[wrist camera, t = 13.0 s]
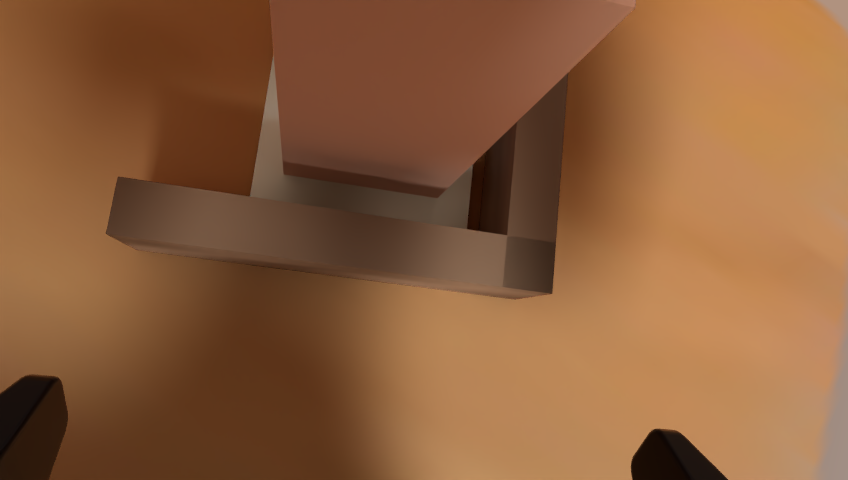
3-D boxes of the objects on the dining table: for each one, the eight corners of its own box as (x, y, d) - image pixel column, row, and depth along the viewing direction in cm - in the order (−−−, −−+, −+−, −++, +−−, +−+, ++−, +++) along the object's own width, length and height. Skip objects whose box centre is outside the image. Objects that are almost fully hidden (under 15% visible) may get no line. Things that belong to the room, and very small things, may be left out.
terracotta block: (283, 174, 19) (262, -78, 7) (306, 23, 20) (320, -415, 8) (437, 198, 20) (635, 8, 8) (452, 52, 21) (650, -304, 9)
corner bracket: (136, 249, 18) (105, 234, 15) (205, -103, 20) (190, -176, 17) (515, 299, 20) (551, 293, 17) (541, -23, 22) (578, -76, 19)
